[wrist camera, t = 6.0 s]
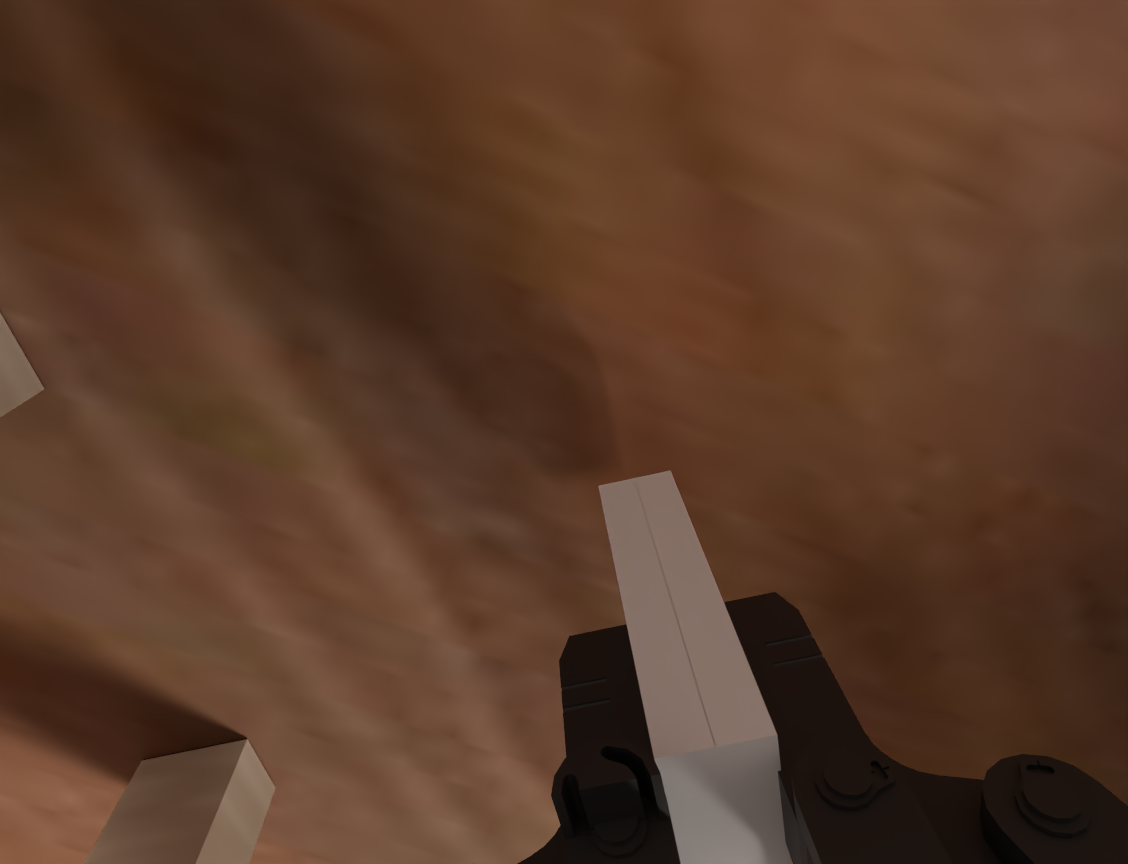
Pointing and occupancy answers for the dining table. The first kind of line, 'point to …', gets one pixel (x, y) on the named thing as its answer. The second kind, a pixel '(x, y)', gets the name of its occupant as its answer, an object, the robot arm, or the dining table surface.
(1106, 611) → the dining table surface
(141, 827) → the bridge
